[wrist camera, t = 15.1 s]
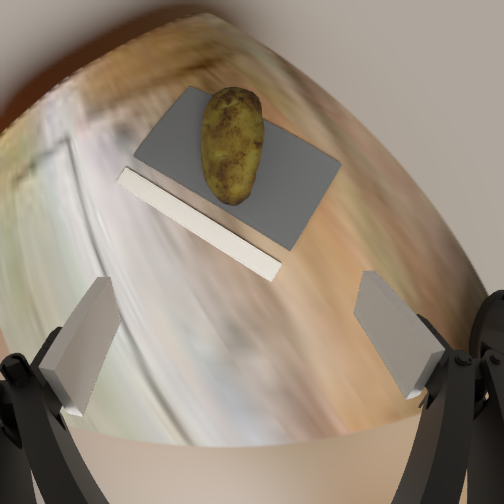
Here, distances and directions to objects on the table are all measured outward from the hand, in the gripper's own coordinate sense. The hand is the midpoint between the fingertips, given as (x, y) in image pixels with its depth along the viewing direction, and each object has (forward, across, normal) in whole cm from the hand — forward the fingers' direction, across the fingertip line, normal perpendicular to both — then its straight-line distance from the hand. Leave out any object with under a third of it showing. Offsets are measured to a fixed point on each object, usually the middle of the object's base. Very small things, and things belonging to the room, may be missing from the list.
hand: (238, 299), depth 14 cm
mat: (+24, 0, +5) cm, 25 cm away
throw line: (+21, -5, -2) cm, 21 cm away
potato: (+24, 0, +5) cm, 24 cm away
